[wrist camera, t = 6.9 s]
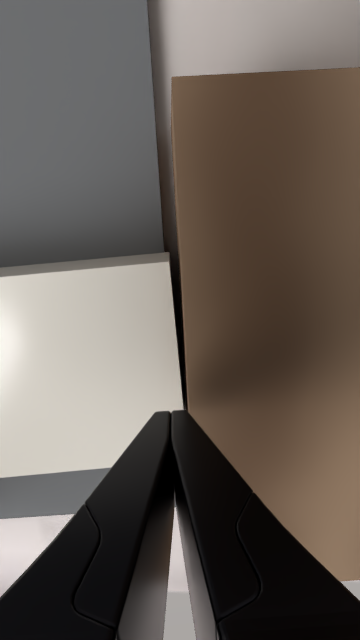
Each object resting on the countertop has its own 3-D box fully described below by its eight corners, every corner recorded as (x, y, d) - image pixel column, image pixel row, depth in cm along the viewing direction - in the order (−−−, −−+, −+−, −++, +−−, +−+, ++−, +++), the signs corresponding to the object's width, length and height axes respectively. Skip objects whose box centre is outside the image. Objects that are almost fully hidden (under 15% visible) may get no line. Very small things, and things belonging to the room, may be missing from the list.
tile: (169, 252, 11) (169, 261, 9) (185, 417, 13) (188, 460, 11) (-81, 275, 11) (-149, 290, 9) (-24, 436, 13) (-66, 483, 11)
